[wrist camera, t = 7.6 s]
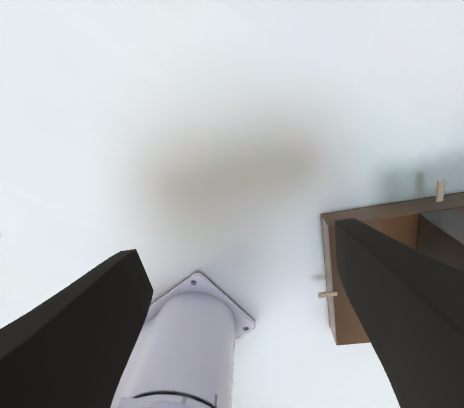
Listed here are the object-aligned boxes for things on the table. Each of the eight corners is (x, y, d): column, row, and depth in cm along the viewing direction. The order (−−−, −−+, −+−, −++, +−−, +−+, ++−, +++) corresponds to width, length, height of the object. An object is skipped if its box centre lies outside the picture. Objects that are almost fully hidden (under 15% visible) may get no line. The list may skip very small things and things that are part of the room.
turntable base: (319, 343, 25) (325, 364, 23) (303, 191, 19) (309, 202, 17) (503, 326, 23) (527, 348, 21) (553, 149, 17) (593, 156, 15)
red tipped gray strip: (437, 337, 22) (491, 407, 17) (409, 339, 22) (454, 410, 17) (455, 207, 17) (538, 254, 12) (419, 213, 17) (486, 260, 12)
